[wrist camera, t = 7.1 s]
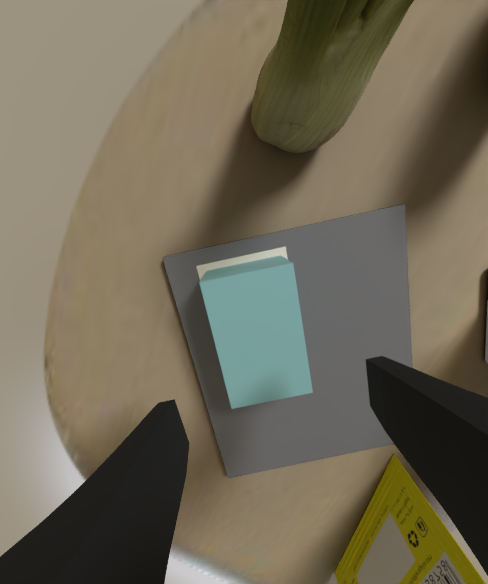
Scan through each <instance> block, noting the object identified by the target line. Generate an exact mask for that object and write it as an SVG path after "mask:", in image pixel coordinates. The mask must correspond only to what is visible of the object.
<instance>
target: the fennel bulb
mask: <svg viewBox="0 0 488 584" xmlns="http://www.w3.org/2000/svg"><path fill="white" fill-rule="evenodd" d="M413 1H414V0H288V2H287V8H286V12H285V16H284V21H283V24H282V29H281V32H280V35H279V38H278V41H277V43H276V44H275V46H274V47H273V49H272V50H271V52H270V53H269V55H268V57H267V58H266V61H265V62H264V64H263V67H262V69H261V71H260V74H259V77H258V81H257V86H256V90H255V94H254V98H253V102H252V111H251V118H250V119H251V123H252V125H253V128H254V130H255V132H256V134H257V136H258V137H259V138H260V139H261V140H262V141H264V142H266V143H269V144H271V145H274V146H277V147H278V148H280V149H282V150H285V151H288V152H292V153H303V152H307V151H310V150H314V149H317V148H318V147H320V146H322V145H323V144H324V143H326V142H327V141H328V140H330V139H331V138H332V137H333V136H334V135H335V134H336V133H337V132H338V131H339V130H340V129H341V127H342V126H343V125H344V124H345V122H346V121H347V119H348V117H349V116H350V114H351V113H352V111H353V109H354V107H355V106H356V104H357V102H358V101H359V99H360V97H361V95H362V93H363V91H364V90H365V88H366V86H367V84H368V82H369V80H370V78H371V76H372V74H373V71H374V69H375V67H376V65H377V63H378V61H379V60H380V58H381V56H382V54H383V53H384V51H385V50H386V48H387V46H388V45H389V43H390V41H391V39H392V37H393V35H394V34H395V32H396V30H397V29H398V27H399V25H400V23H401V21H402V20H403V18H404V16H405V14H406V12H407V11H408V9H409V7H410V5H411V4H412V2H413Z"/></svg>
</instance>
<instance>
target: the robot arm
mask: <svg viewBox="0 0 488 584" xmlns="http://www.w3.org/2000/svg"><path fill="white" fill-rule="evenodd" d="M485 361H486V363H488V302H487V326H486V350H485ZM366 370H367V380H368V390H369V401H370V407H371V408H372V410H373V412H374V414H375V415H376V417H377V419H378V420H379V422H380V424H381V425H382V427H383V429H384V430H385V432H386V433H387V435H388V436H389V437H390V439H391V440H392V441H393V443H394V444H395V445H396V447H397V448H398V449H399V451H400V452H401V453H402V455H403V456H404V457H405V459H406V460H407V461H408V462H409V464H410V465H411V466H412V468H413V469H414V470H415V472H416V473H417V474H418V476H419V477H420V478H421V479H422V481H423V482H424V483H425V485H426V486H427V487H428V489H429V490H430V491H431V493H432V494H433V495H434V496H435V498H436V499H437V500H438V502H439V503H440V504H441V506H442V507H443V509H444V510H445V511H446V513H447V514H448V516H449V517H450V518H451V520H452V521H453V523H454V524H455V526H456V527H457V529H458V530H459V532H460V533H461V535H462V537H463V538H464V540H465V541H466V543H467V544H468V546H469V547H470V549H471V550H472V552H473V553H474V555H475V556H476V558H477V559H478V561H479V563H480V564H481V566H482V567H483V569H484V570H485V572H486V574H487V575H488V398H486V397H483V396H481V395H478V394H475V393H473V392H470V391H467V390H465V389H462V388H459V387H457V386H454V385H452V384H449V383H447V382H444V381H442V380H439V379H437V378H435V377H432V376H430V375H427V374H425V373H423V372H420V371H418V370H416V369H413V368H411V367H409V366H406V365H404V364H401V363H399V362H397V361H394V360H392V359H389V358H387V357H384V356H379V357H374V358H369V359H366ZM188 451H189V441H188V438H187V435H186V432H185V429H184V426H183V423H182V420H181V417H180V414H179V411H178V408H177V405H176V402H175V400H170V401H165V402H160V403H158V404H157V405H156V406H155V407H154V408H153V409H152V410H151V411H150V412H149V413H148V415H147V416H146V417H145V418H144V419H143V420H142V421H141V422H140V424H139V425H138V426H137V427H136V428H135V429H134V430H133V431H132V432H131V434H130V435H129V436H128V437H127V438H126V439H125V440H124V441H123V442H122V444H121V445H120V446H119V447H118V448H117V449H116V450H115V451H114V452H113V453H112V454H111V455H110V456H109V457H108V458H107V459H106V461H105V462H104V463H103V464H102V465H101V466H100V467H99V468H98V469H97V470H96V471H95V472H94V473H93V474H92V475H91V476H90V477H89V478H88V479H87V480H86V481H85V482H84V483H83V484H82V485H81V486H80V487H79V488H78V489H77V490H76V491H75V492H74V493H73V494H72V495H71V496H70V497H69V498H68V499H66V500H65V501H64V502H63V503H62V504H61V505H60V506H59V507H58V508H57V509H55V510H54V511H53V512H52V513H51V514H50V515H49V516H48V517H47V518H46V519H45V520H43V521H42V522H41V523H40V524H39V525H38V526H36V527H35V528H34V529H33V530H32V531H30V532H29V533H28V534H27V535H26V536H24V537H23V538H22V539H21V540H20V541H18V543H16V544H15V545H14V546H13V547H11V548H10V549H9V550H8V551H7V552H5V553H4V554H3V555H2V556H1V557H0V584H164V581H165V575H166V569H167V564H168V558H169V553H170V548H171V544H172V539H173V534H174V530H175V525H176V520H177V516H178V511H179V507H180V502H181V497H182V492H183V487H184V483H185V478H186V471H187V462H188Z"/></svg>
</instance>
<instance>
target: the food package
mask: <svg viewBox="0 0 488 584" xmlns="http://www.w3.org/2000/svg"><path fill="white" fill-rule="evenodd" d="M335 575H336V579H337V581H338V584H486V583H485V582H484V580H483V579H482V577H481V576H480V575H479V573H478V572H477V570H476V569H475V568H474V566H473V565H472V563H471V562H470V560H469V559H468V558H467V556H466V555H465V553H464V552H463V551H462V549H461V548H460V546H459V545H458V543H457V542H456V541H455V539H454V538H453V537H452V535H451V534H450V532H449V531H448V529H447V528H446V527H445V525H444V524H443V522H442V521H441V519H440V518H439V517H438V515H437V514H436V512H435V511H434V510H433V508H432V507H431V505H430V504H429V503H428V501H427V500H426V498H425V497H424V496H423V494H422V493H421V491H420V490H419V488H418V487H417V486H416V484H415V483H414V481H413V480H412V479H411V477H410V476H409V474H408V473H407V471H406V470H405V468H404V467H403V465H402V464H401V463H400V461H399V460H398V458H397V457H396V456H395V454H393V456H392V457H391V460H390V461H389V464H388V465H387V468H386V470H385V472H384V474H383V476H382V478H381V480H380V482H379V484H378V486H377V488H376V490H375V492H374V494H373V496H372V498H371V500H370V502H369V504H368V506H367V508H366V511H365V513H364V515H363V517H362V519H361V521H360V522H359V524H358V526H357V528H356V530H355V532H354V534H353V536H352V538H351V540H350V542H349V544H348V546H347V548H346V550H345V552H344V554H343V556H342V558H341V560H340V562H339V564H338V566H337V568H336V570H335Z"/></svg>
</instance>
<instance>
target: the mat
mask: <svg viewBox="0 0 488 584" xmlns="http://www.w3.org/2000/svg"><path fill="white" fill-rule="evenodd" d="M280 255H281V256H283V257H284V258H286V259H288V260H289V261H291V262H292V263H293V265H294V271H295V278H296V285H297V291H298V298H299V304H300V311H301V317H302V324H303V331H304V337H305V344H306V350H307V357H308V363H309V370H310V377H311V383H312V390H313V393H309V394H304V395H299V396H294V397H289V398H284V399H279V400H274V401H269V402H264V403H259V404H254V405H249V406H244V407H239V408H234V409H232V408H231V404H230V401H229V397H228V393H227V389H226V385H225V381H224V377H223V373H222V369H221V365H220V361H219V358H218V354H217V350H216V346H215V342H214V338H213V334H212V330H211V326H210V322H209V318H208V314H207V311H206V307H205V303H204V299H203V295H202V291H201V287H200V283H199V282H200V281H201V279H202V277H203V276H204V274H205V272H206V271H208V270H212V269H217V268H222V267H227V266H232V265H236V264H241V263H246V262H251V261H256V260H260V259H265V258H270V257H275V256H280ZM163 261H164V265H165V268H166V272H167V275H168V278H169V282H170V285H171V288H172V292H173V295H174V298H175V302H176V305H177V308H178V312H179V315H180V318H181V322H182V325H183V329H184V332H185V335H186V339H187V342H188V345H189V349H190V352H191V355H192V359H193V362H194V365H195V369H196V372H197V375H198V379H199V382H200V386H201V389H202V392H203V396H204V399H205V402H206V406H207V409H208V412H209V416H210V419H211V422H212V426H213V429H214V433H215V436H216V439H217V443H218V446H219V449H220V453H221V456H222V459H223V463H224V466H225V469H226V473H227V476H228V478H232V477H237V476H241V475H246V474H251V473H256V472H261V471H266V470H270V469H275V468H280V467H285V466H290V465H295V464H299V463H304V462H309V461H314V460H319V459H324V458H328V457H333V456H338V455H343V454H348V453H352V452H357V451H362V450H367V449H372V448H377V447H381V446H386V445H391V444H394V443H393V441H392V440H391V439H390V437H389V436H388V435H387V433H386V432H385V430H384V429H383V427H382V425H381V424H380V422H379V420H378V419H377V417H376V415H375V414H374V412H373V410H372V408H371V407H370V401H369V390H368V380H367V370H366V359H369V358H374V357H379V356H384V357H387V358H389V359H392V360H394V361H397V362H399V363H401V364H404V365H406V366H409V367H411V368H412V351H411V328H410V305H409V282H408V258H407V235H406V212H405V204H403V205H397V206H392V207H388V208H383V209H379V210H374V211H369V212H365V213H360V214H356V215H351V216H347V217H342V218H338V219H333V220H329V221H324V222H320V223H315V224H310V225H306V226H301V227H297V228H292V229H288V230H283V231H279V232H274V233H270V234H265V235H261V236H256V237H251V238H247V239H242V240H238V241H233V242H229V243H224V244H220V245H215V246H211V247H206V248H202V249H197V250H192V251H188V252H183V253H179V254H174V255H170V256H165V257H163Z"/></svg>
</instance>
